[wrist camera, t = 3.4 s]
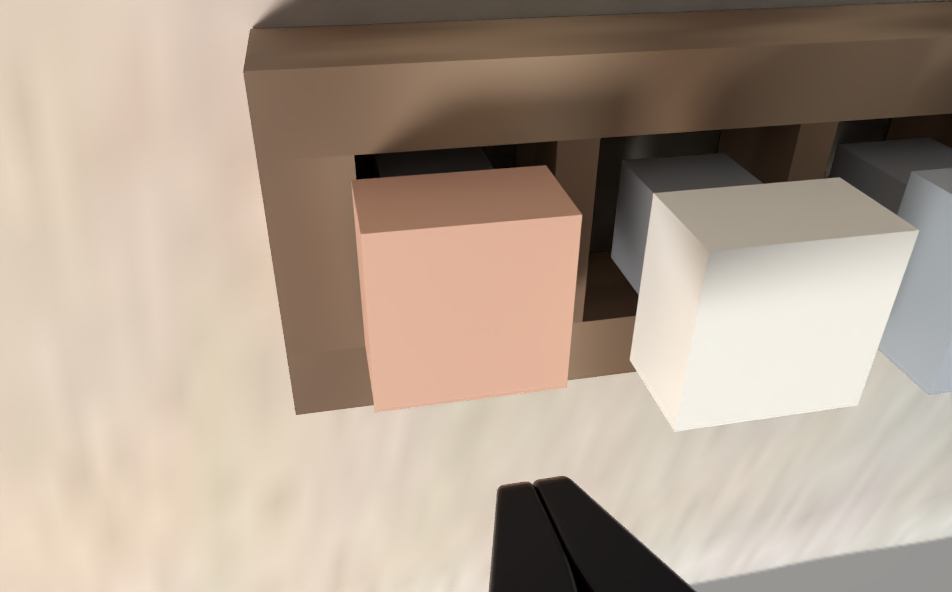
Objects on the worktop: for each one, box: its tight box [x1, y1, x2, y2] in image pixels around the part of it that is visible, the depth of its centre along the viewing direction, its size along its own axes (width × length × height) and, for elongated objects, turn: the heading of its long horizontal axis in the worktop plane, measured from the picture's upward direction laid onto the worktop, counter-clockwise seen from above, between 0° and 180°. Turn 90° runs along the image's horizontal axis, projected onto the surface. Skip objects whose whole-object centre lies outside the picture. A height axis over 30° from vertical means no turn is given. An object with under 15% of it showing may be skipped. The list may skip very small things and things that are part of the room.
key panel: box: [243, 1, 952, 415], centre depth 16 cm, size 16×7×3 cm, turn 89°
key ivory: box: [611, 153, 919, 432], centre depth 14 cm, size 3×3×5 cm
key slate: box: [829, 137, 952, 395], centre depth 15 cm, size 3×3×5 cm
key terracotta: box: [351, 146, 582, 412], centre depth 14 cm, size 3×3×5 cm
